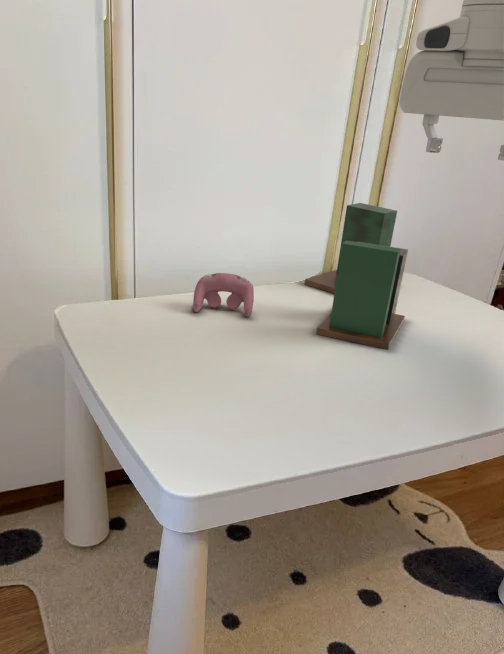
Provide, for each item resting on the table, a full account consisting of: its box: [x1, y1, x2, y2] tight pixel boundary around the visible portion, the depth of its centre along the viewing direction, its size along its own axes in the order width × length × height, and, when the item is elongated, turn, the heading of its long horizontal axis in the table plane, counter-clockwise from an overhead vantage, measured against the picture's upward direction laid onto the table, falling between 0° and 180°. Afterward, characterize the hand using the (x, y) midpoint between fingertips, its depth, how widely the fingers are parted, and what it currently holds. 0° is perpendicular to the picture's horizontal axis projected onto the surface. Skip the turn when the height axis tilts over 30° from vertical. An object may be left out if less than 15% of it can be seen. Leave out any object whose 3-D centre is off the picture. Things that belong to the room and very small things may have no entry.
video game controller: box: [192, 272, 255, 317], centre depth 104 cm, size 10×5×7 cm, turn 83°
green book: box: [329, 240, 401, 338], centre depth 94 cm, size 8×2×13 cm, turn 65°
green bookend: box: [304, 202, 398, 294], centre depth 117 cm, size 11×14×14 cm
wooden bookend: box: [316, 242, 409, 350], centre depth 98 cm, size 11×14×12 cm
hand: (467, 156), depth 84 cm, fingers open, 8 cm apart
